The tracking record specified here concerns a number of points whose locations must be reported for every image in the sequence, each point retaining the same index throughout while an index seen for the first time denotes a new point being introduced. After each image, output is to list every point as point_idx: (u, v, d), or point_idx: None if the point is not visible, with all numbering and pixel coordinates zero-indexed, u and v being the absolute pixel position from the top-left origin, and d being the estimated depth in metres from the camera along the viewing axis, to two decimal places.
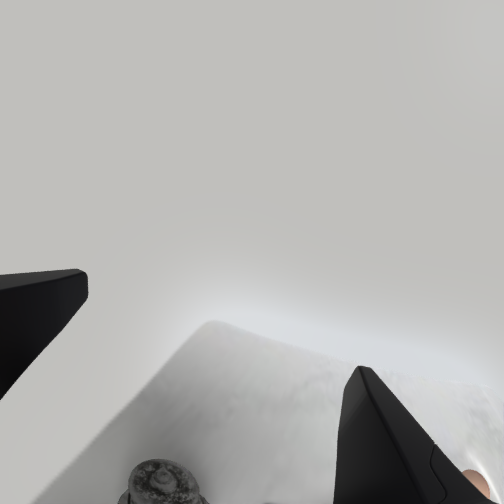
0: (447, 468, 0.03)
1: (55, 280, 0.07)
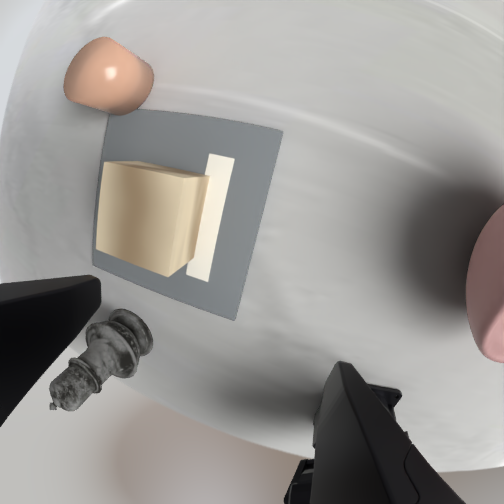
0: (425, 470, 0.03)
1: (68, 288, 0.07)
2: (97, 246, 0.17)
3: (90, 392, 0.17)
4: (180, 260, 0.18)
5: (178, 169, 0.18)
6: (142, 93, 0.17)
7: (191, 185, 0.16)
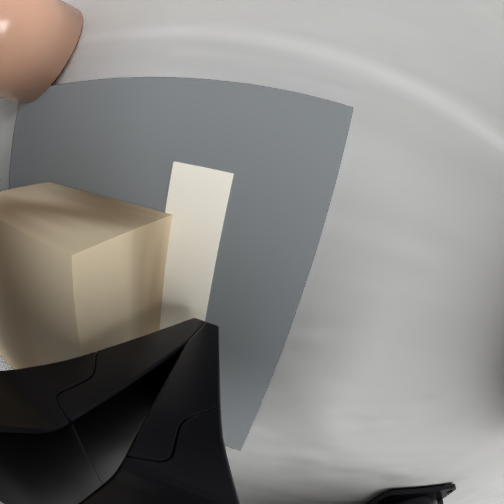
0: (222, 442, 0.04)
1: (187, 342, 0.06)
2: None
3: None
4: None
5: (107, 199, 0.08)
6: (55, 55, 0.06)
7: (108, 260, 0.05)
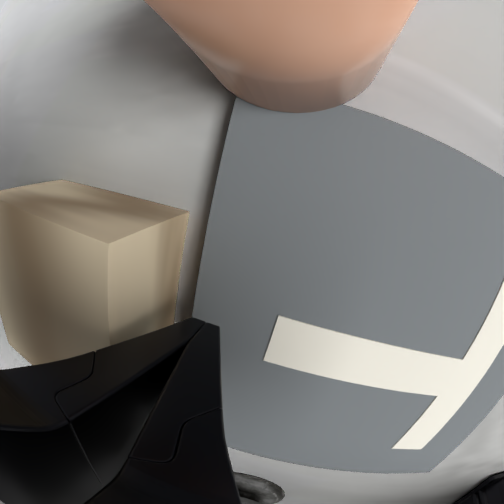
0: (223, 442, 0.04)
1: (186, 342, 0.06)
2: (10, 340, 0.08)
3: None
4: None
5: (128, 196, 0.09)
6: None
7: (138, 250, 0.06)
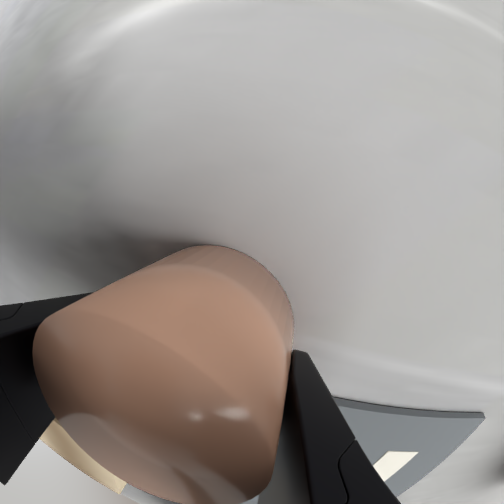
0: (368, 469, 0.03)
1: None
2: (40, 437, 0.10)
3: None
4: None
5: None
6: None
7: None
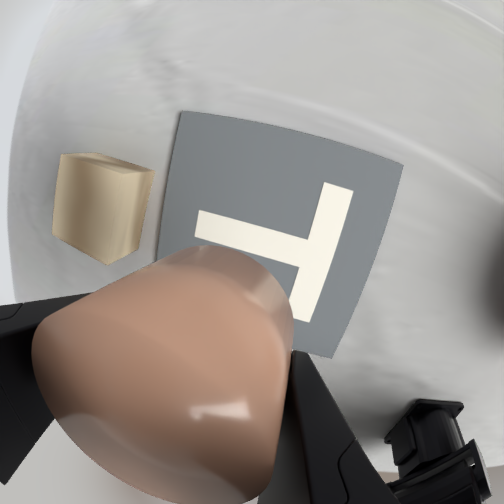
0: (368, 469, 0.03)
1: None
2: (53, 232, 0.17)
3: None
4: (122, 250, 0.18)
5: (129, 163, 0.18)
6: None
7: (131, 180, 0.16)
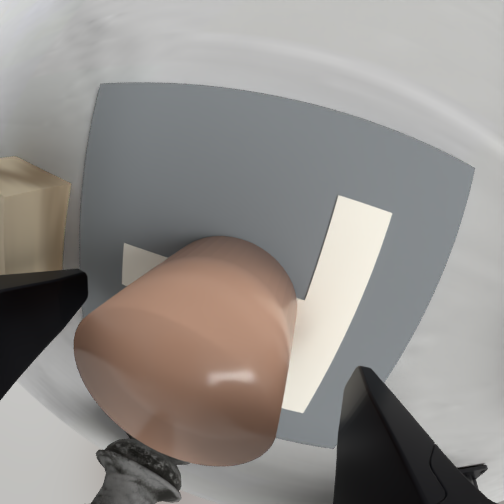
0: (448, 467, 0.03)
1: (55, 280, 0.07)
2: None
3: None
4: None
5: (44, 171, 0.11)
6: None
7: (25, 203, 0.08)
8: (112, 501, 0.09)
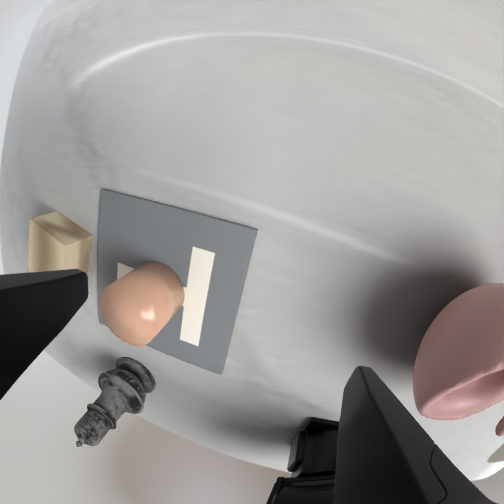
0: (447, 468, 0.03)
1: (55, 280, 0.07)
2: (28, 268, 0.23)
3: (107, 430, 0.20)
4: None
5: (77, 225, 0.24)
6: (178, 310, 0.22)
7: (72, 247, 0.21)
8: (104, 400, 0.22)
